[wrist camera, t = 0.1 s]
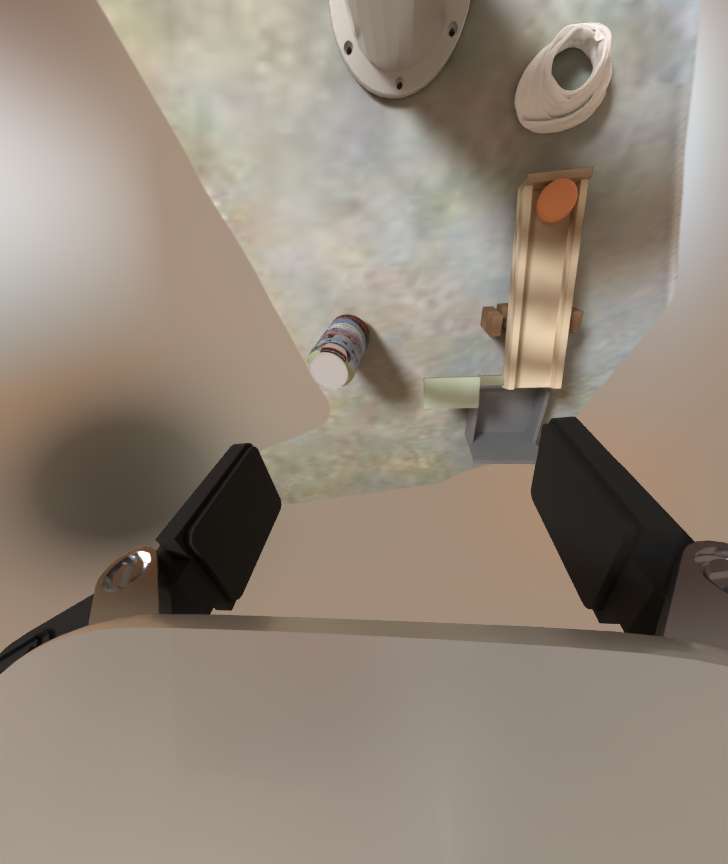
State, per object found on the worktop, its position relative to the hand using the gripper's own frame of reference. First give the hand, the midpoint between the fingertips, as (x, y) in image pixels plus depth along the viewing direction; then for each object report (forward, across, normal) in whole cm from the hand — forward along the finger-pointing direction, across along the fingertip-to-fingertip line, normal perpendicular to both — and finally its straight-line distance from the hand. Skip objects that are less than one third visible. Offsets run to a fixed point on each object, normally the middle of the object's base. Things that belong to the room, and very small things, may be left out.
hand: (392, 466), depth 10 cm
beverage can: (+37, +8, +5) cm, 38 cm away
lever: (+34, -11, +3) cm, 35 cm away
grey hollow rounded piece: (+37, -17, -16) cm, 43 cm away
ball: (+33, -17, -7) cm, 38 cm away
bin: (+36, -14, +20) cm, 44 cm away
